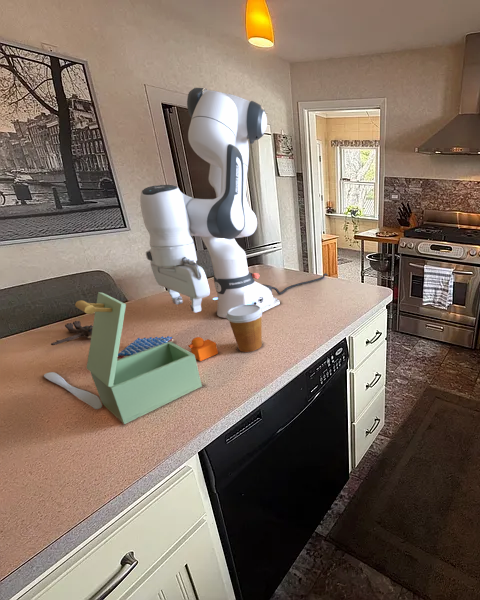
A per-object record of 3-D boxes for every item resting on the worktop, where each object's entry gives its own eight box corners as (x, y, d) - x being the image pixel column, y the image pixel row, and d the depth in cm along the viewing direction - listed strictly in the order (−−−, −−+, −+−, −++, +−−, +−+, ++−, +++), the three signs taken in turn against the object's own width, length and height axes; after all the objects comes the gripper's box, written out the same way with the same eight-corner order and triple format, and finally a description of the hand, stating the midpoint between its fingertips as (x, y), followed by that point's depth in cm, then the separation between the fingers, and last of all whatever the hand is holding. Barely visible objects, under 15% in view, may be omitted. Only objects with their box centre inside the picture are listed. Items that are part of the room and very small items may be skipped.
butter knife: (57, 368, 83) (41, 374, 81) (109, 403, 71) (92, 411, 69) (58, 370, 83) (41, 376, 81) (110, 406, 72) (93, 413, 69)
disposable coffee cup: (233, 342, 99) (226, 306, 95) (266, 337, 103) (261, 301, 98) (231, 357, 91) (224, 318, 87) (268, 351, 94) (262, 313, 90)
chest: (178, 371, 84) (170, 341, 81) (202, 386, 78) (194, 354, 75) (102, 403, 72) (89, 369, 69) (124, 424, 66) (111, 388, 63)
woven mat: (115, 362, 88) (112, 355, 87) (137, 343, 98) (136, 337, 97) (157, 359, 89) (155, 352, 89) (175, 341, 99) (174, 335, 98)
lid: (103, 292, 68) (70, 290, 64) (126, 304, 62) (92, 303, 58) (91, 367, 69) (58, 371, 65) (113, 386, 63) (79, 391, 59)
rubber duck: (210, 349, 95) (206, 330, 93) (218, 353, 93) (214, 334, 91) (188, 358, 90) (184, 339, 88) (196, 362, 88) (191, 343, 86)
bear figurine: (104, 311, 112) (128, 315, 106) (108, 323, 113) (132, 327, 107) (32, 332, 96) (55, 338, 90) (38, 345, 98) (61, 352, 92)
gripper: (211, 258, 77) (221, 312, 82) (169, 248, 87) (180, 296, 92) (182, 264, 72) (195, 321, 77) (142, 252, 82) (155, 302, 87)
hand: (187, 307), depth 85 cm, fingers open, 8 cm apart
